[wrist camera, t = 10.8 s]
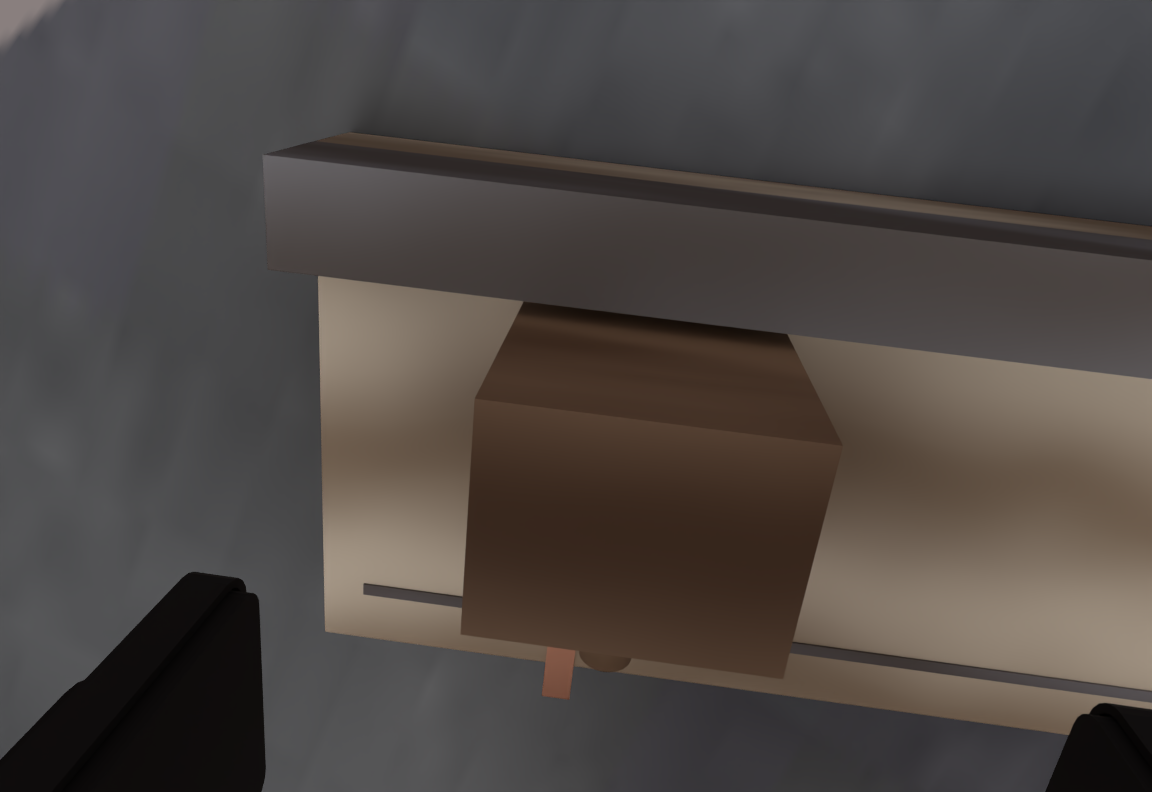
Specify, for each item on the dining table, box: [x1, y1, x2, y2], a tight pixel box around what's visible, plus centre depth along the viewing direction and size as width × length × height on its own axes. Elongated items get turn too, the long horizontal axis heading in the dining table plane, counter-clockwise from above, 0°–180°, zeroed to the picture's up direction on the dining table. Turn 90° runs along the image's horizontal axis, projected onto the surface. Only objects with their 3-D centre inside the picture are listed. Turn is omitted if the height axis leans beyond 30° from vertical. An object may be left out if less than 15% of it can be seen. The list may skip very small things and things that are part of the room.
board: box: [263, 132, 1152, 735], centre depth 18 cm, size 13×28×4 cm, turn 84°
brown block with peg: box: [460, 301, 843, 679], centre depth 16 cm, size 9×5×6 cm, turn 174°
